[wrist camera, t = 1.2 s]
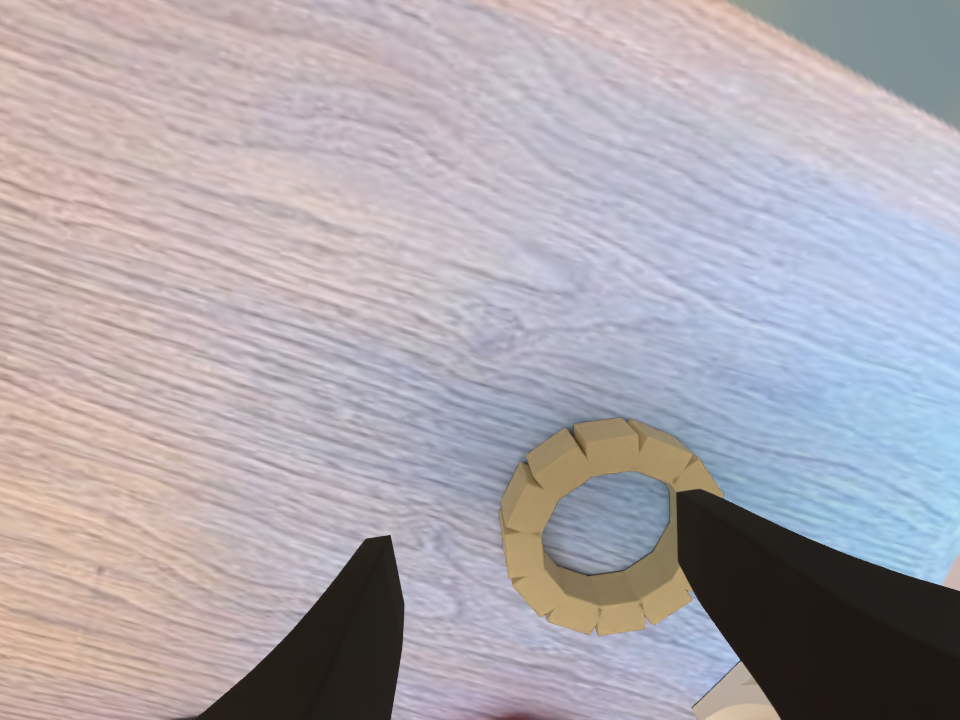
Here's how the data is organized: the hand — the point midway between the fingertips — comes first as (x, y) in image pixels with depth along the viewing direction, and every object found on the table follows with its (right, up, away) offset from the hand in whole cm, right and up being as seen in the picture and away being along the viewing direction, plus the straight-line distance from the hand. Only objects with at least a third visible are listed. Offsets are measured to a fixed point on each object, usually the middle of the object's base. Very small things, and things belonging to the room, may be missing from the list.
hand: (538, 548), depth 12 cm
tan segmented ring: (+4, -3, +10) cm, 11 cm away
